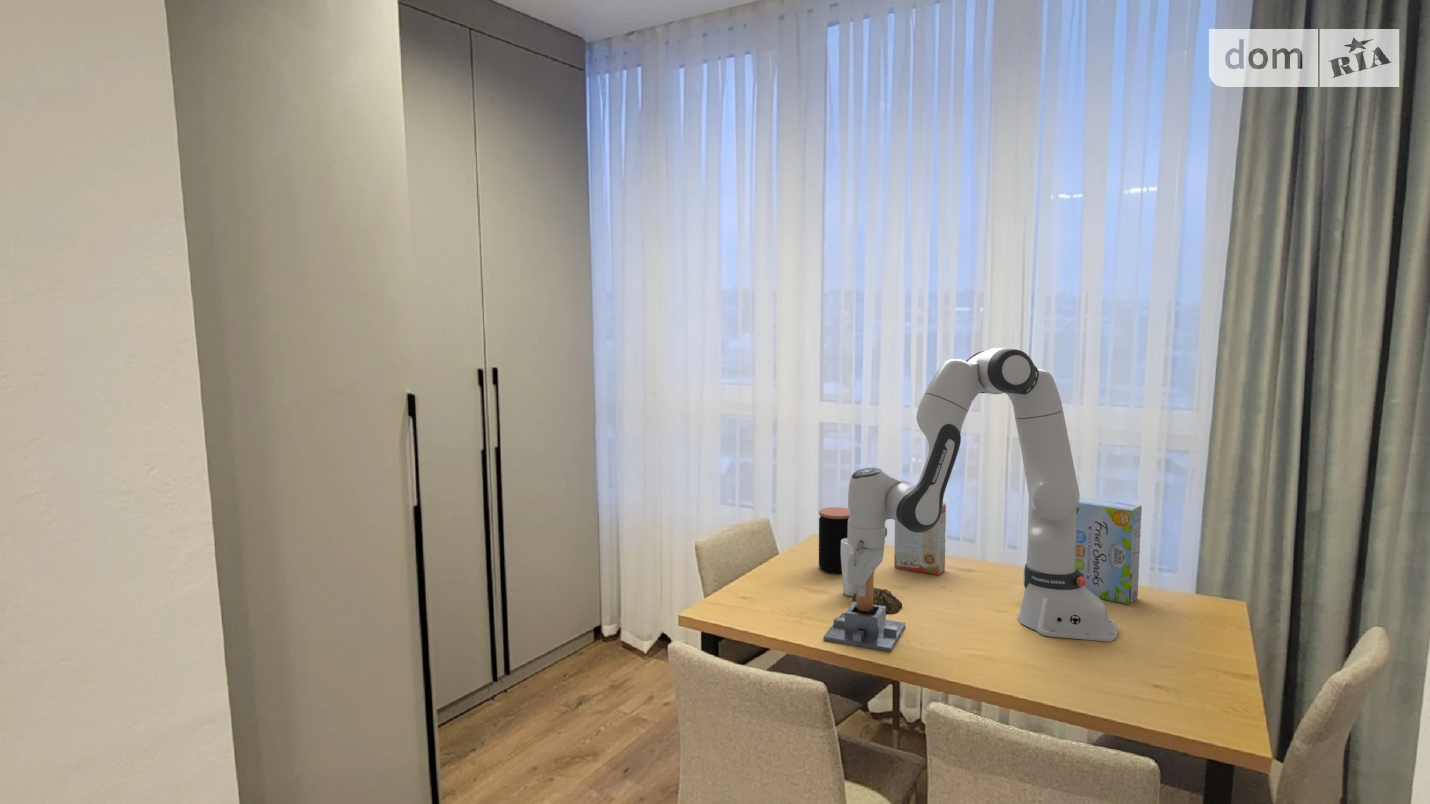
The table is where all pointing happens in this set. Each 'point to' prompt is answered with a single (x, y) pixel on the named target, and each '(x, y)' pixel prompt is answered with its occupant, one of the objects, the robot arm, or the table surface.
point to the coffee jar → (832, 538)
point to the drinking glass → (846, 567)
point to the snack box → (1109, 548)
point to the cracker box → (921, 548)
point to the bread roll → (884, 600)
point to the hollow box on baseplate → (865, 629)
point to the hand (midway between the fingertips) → (865, 591)
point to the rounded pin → (866, 596)
